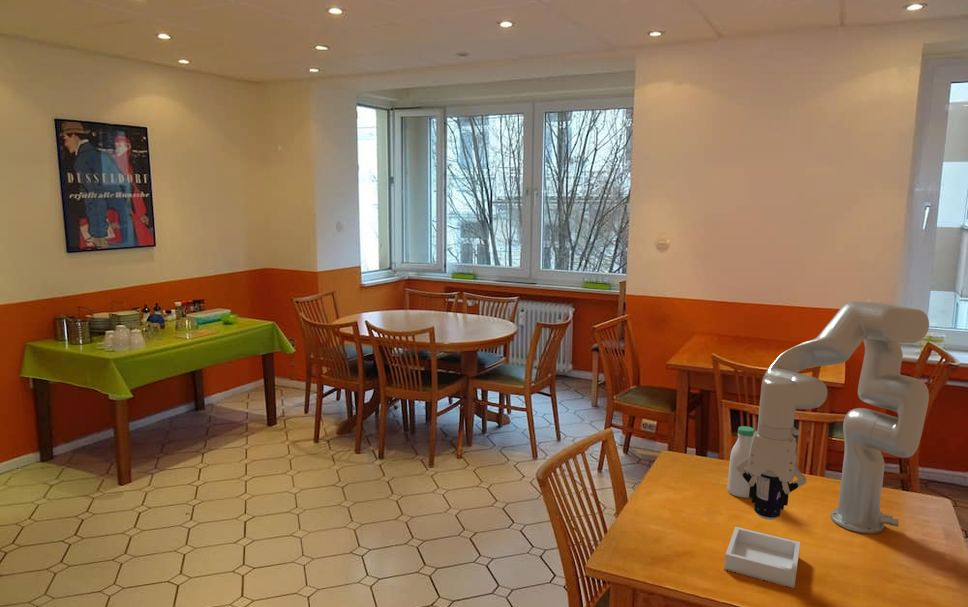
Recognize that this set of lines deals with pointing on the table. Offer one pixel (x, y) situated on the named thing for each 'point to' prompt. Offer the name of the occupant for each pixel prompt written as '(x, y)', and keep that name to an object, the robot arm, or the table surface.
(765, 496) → the beverage can
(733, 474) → the milk bottle
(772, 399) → the robot arm
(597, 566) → the table surface
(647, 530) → the table surface
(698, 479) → the table surface
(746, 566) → the box
